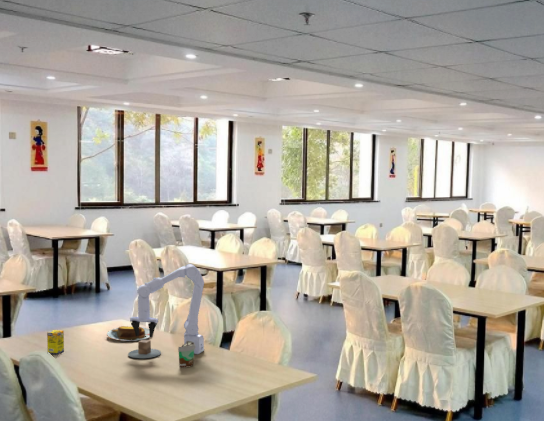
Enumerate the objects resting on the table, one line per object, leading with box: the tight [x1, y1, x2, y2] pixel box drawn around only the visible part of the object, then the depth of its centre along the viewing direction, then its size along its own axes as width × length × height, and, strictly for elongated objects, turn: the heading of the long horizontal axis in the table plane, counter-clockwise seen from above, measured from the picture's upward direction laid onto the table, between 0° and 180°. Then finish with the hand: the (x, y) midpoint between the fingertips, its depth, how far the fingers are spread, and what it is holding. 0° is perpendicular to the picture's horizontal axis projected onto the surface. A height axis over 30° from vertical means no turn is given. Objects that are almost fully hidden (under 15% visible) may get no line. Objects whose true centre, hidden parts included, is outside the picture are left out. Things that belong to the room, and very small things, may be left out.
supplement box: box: [46, 329, 65, 356], centre depth 338 cm, size 6×6×11 cm
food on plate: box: [106, 325, 151, 342], centre depth 369 cm, size 25×25×7 cm
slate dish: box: [127, 348, 162, 359], centre depth 334 cm, size 16×16×1 cm
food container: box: [177, 341, 196, 368], centre depth 317 cm, size 12×6×10 cm, turn 168°
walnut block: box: [137, 339, 152, 355], centre depth 334 cm, size 4×4×6 cm
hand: (144, 336), depth 333 cm, fingers open, 7 cm apart
